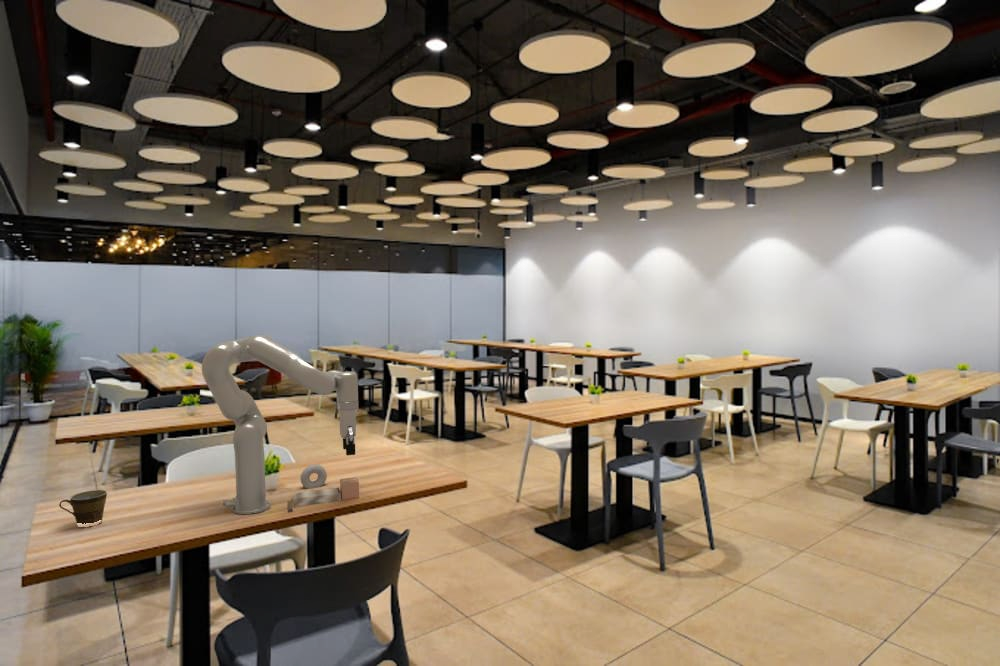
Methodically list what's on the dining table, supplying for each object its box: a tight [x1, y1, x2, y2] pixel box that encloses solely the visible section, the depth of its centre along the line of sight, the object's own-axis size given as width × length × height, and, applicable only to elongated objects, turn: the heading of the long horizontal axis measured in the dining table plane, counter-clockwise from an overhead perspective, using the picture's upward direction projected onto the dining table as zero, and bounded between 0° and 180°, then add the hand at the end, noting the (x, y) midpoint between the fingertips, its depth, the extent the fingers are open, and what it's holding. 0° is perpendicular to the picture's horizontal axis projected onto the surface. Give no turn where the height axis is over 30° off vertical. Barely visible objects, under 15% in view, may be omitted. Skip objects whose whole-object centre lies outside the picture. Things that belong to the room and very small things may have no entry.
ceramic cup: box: [58, 489, 108, 524], centre depth 192 cm, size 13×10×10 cm
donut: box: [300, 464, 328, 489], centre depth 227 cm, size 10×4×10 cm, turn 121°
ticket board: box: [286, 487, 342, 513], centre depth 213 cm, size 36×10×4 cm, turn 111°
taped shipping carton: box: [339, 476, 360, 501], centre depth 214 cm, size 6×6×6 cm
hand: (349, 451), depth 214 cm, fingers open, 9 cm apart
